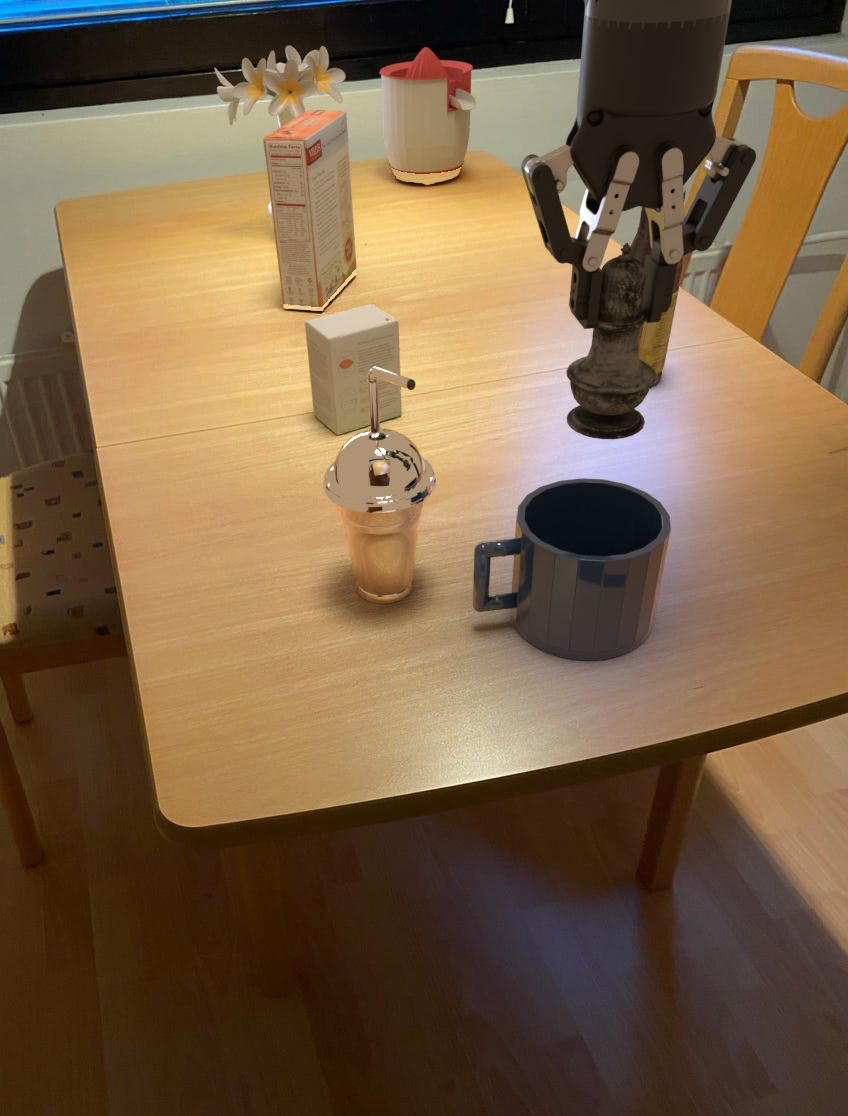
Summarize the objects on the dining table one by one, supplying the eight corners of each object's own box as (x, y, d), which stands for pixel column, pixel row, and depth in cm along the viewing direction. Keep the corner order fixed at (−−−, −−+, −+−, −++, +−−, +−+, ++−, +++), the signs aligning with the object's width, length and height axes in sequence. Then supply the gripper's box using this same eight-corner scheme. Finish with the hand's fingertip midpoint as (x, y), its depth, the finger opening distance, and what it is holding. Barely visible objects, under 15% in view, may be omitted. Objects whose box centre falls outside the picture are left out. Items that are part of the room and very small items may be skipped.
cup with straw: (431, 553, 82) (429, 325, 69) (442, 619, 75) (442, 379, 62) (331, 560, 82) (311, 332, 69) (333, 626, 75) (311, 387, 62)
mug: (624, 567, 79) (639, 471, 73) (673, 651, 71) (694, 550, 65) (458, 586, 78) (459, 491, 72) (488, 674, 70) (492, 574, 64)
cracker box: (318, 273, 136) (305, 108, 123) (358, 276, 134) (349, 109, 121) (279, 310, 126) (260, 134, 113) (321, 314, 124) (308, 136, 111)
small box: (377, 397, 105) (373, 301, 99) (403, 416, 102) (400, 319, 95) (312, 415, 103) (303, 319, 96) (335, 436, 99) (327, 338, 92)
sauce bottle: (593, 373, 107) (614, 182, 95) (641, 362, 109) (668, 173, 96) (625, 396, 103) (652, 199, 90) (675, 385, 104) (709, 189, 91)
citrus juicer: (440, 196, 162) (440, 59, 149) (364, 180, 171) (359, 51, 159) (496, 175, 170) (501, 44, 158) (421, 161, 180) (420, 36, 167)
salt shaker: (570, 443, 64) (588, 261, 57) (555, 404, 69) (570, 230, 61) (658, 438, 64) (688, 255, 57) (637, 399, 69) (662, 225, 61)
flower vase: (233, 229, 154) (209, 47, 138) (347, 217, 156) (336, 36, 140) (239, 255, 144) (214, 63, 128) (361, 242, 146) (351, 51, 130)
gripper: (545, 24, 48) (525, 355, 59) (819, 3, 49) (748, 333, 60) (509, 5, 53) (497, 310, 64) (754, -13, 54) (701, 290, 65)
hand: (618, 319), depth 62 cm, fingers closed on salt shaker, 3 cm apart
